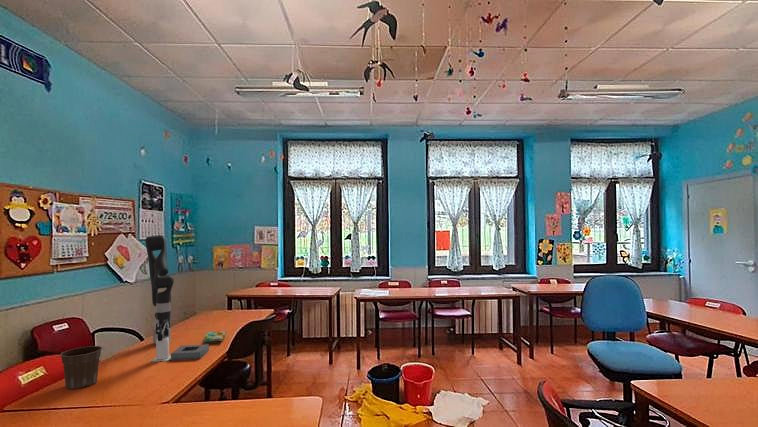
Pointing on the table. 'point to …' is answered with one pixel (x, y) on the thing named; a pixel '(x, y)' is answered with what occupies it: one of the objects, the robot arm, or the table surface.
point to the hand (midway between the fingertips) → (163, 338)
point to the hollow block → (189, 352)
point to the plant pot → (81, 366)
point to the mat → (161, 360)
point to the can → (162, 348)
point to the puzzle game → (214, 337)
